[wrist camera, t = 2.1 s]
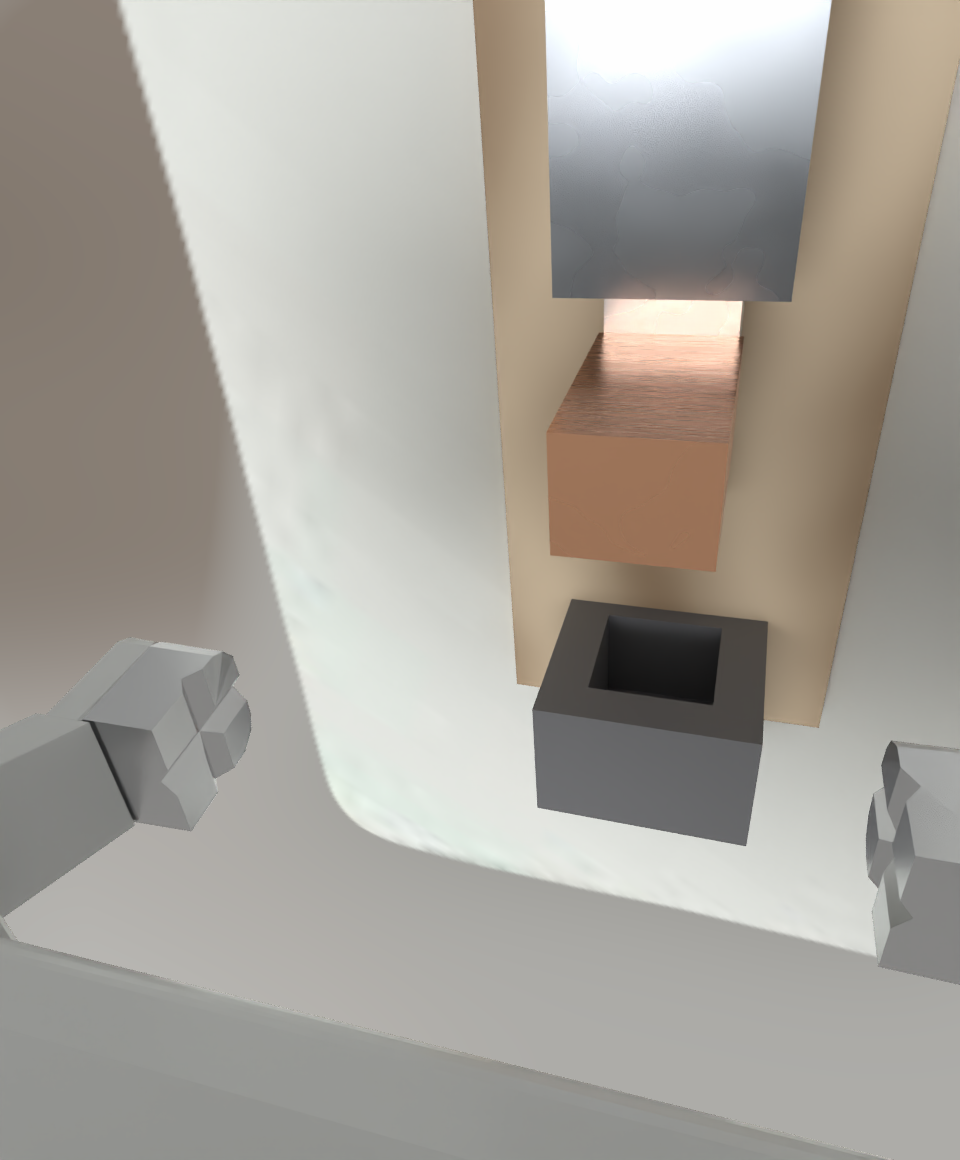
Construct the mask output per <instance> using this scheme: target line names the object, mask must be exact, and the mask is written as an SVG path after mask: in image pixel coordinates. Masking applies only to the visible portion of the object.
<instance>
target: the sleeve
mask: <svg viewBox="0 0 960 1160" xmlns="http://www.w3.org/2000/svg"><path fill="white" fill-rule="evenodd" d="M831 2H832V0H545V25H546V66H547V106H548V146H549V186H550V226H551V266H552V298H585V299H645V300H705V301H765V302H792V294H793V287H794V279H795V272H796V264H797V257H798V249H799V242H800V234H801V227H802V219H803V212H804V204H805V197H806V189H807V182H808V174H809V167H810V159H811V152H812V144H813V137H814V129H815V122H816V114H817V107H818V99H819V92H820V84H821V77H822V69H823V62H824V54H825V47H826V39H827V32H828V24H829V17H830V9H831Z"/></svg>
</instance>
